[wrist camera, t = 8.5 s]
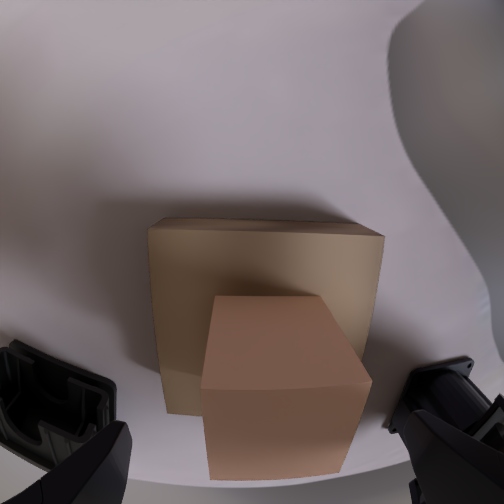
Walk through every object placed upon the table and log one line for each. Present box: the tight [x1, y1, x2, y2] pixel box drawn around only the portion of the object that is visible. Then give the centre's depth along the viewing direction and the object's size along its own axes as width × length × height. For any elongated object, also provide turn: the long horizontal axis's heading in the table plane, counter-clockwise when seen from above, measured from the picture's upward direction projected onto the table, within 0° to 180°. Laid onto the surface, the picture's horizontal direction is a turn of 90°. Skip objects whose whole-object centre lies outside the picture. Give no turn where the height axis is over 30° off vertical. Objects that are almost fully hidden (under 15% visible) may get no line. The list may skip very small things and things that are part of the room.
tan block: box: [147, 218, 385, 416], centre depth 15 cm, size 10×10×3 cm
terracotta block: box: [200, 296, 373, 481], centre depth 11 cm, size 4×4×6 cm
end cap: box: [0, 340, 117, 472], centre depth 15 cm, size 10×7×7 cm
